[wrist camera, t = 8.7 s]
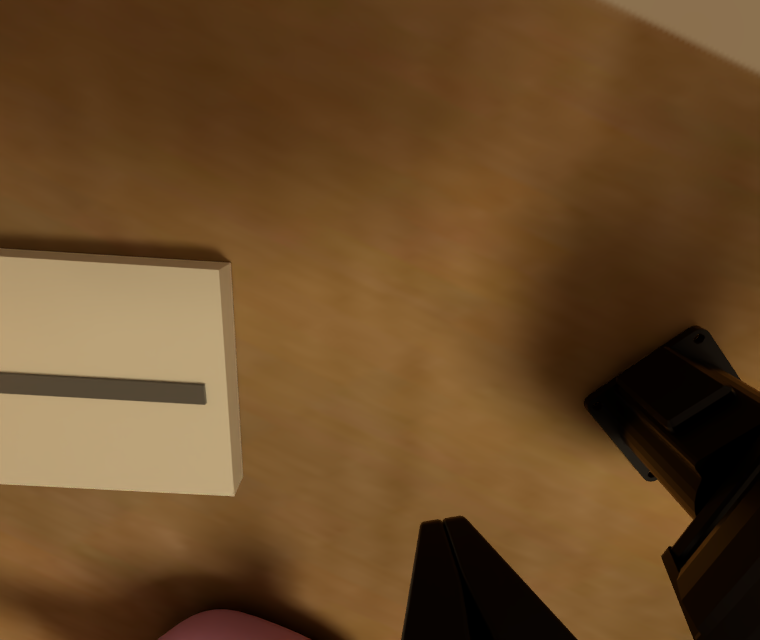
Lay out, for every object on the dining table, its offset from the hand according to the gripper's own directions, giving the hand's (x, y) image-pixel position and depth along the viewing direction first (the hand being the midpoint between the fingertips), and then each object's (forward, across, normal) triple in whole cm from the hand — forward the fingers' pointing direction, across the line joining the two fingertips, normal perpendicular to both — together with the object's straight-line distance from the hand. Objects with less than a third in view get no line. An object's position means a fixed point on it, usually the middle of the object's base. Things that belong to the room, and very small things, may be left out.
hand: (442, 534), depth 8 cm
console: (+14, +17, +1) cm, 23 cm away
